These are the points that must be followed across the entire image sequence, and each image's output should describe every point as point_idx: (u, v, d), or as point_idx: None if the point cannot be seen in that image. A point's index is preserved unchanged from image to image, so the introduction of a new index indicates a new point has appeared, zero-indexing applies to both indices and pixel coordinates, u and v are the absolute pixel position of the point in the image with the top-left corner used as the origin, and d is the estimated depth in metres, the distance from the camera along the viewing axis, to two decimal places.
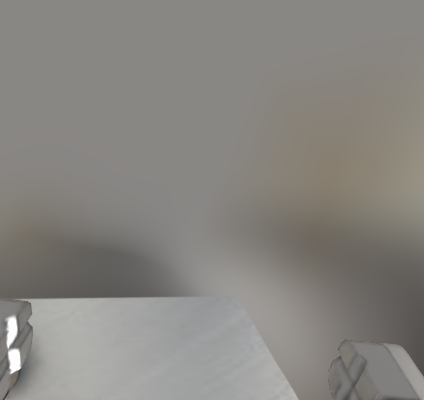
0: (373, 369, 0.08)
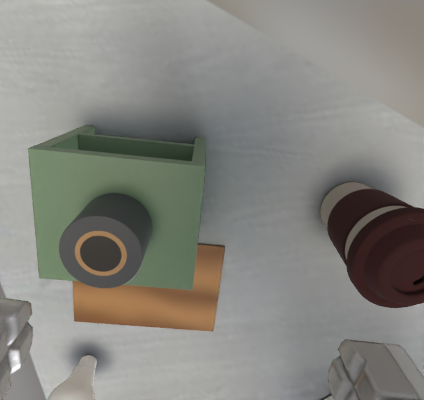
0: (373, 369, 0.08)
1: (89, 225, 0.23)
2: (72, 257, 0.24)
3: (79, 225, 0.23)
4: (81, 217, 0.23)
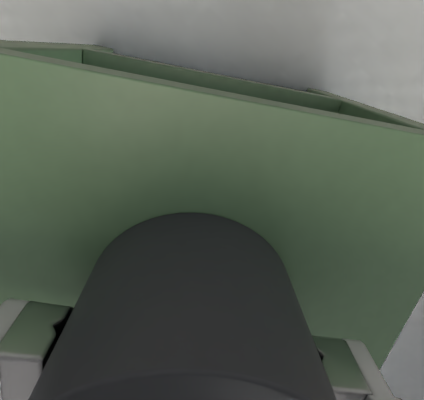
0: (329, 364, 0.08)
1: None
2: None
3: None
4: (114, 366, 0.05)
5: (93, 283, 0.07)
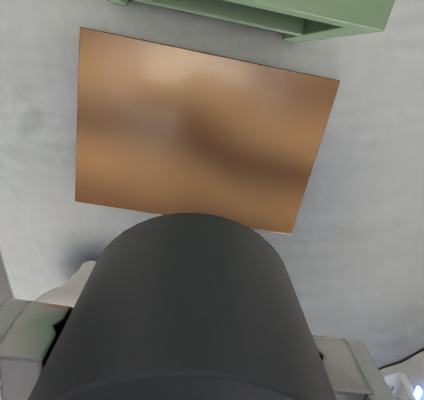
0: (328, 364, 0.08)
1: None
2: None
3: None
4: (113, 367, 0.05)
5: (93, 283, 0.07)
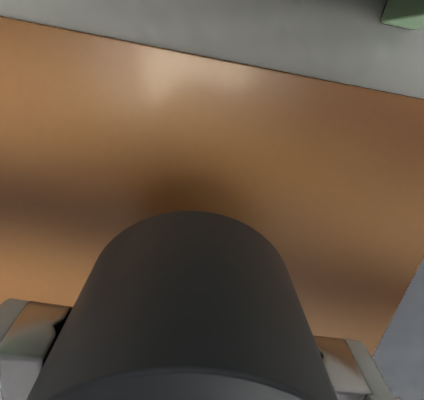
0: (328, 364, 0.08)
1: None
2: None
3: None
4: (113, 364, 0.05)
5: (93, 281, 0.07)
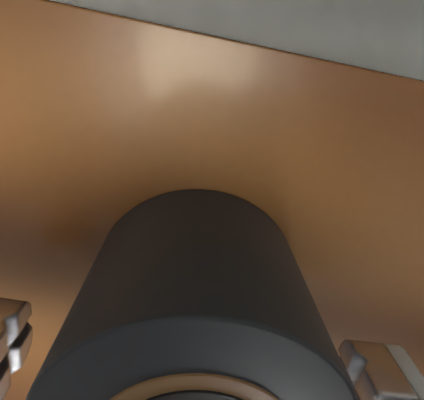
0: (373, 369, 0.08)
1: (167, 352, 0.05)
2: None
3: (121, 351, 0.05)
4: (132, 314, 0.05)
5: (106, 252, 0.08)
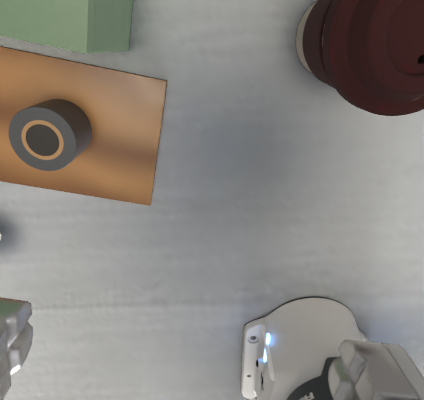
0: (373, 369, 0.08)
1: (33, 114, 0.29)
2: (19, 141, 0.30)
3: (25, 114, 0.29)
4: (27, 107, 0.29)
5: None
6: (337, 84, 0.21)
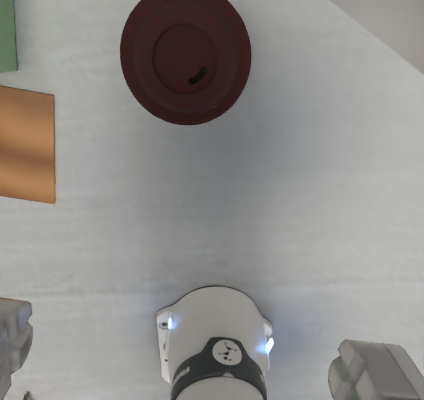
0: (373, 369, 0.08)
1: None
2: None
3: None
4: None
5: None
6: (138, 100, 0.26)
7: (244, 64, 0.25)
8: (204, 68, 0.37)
